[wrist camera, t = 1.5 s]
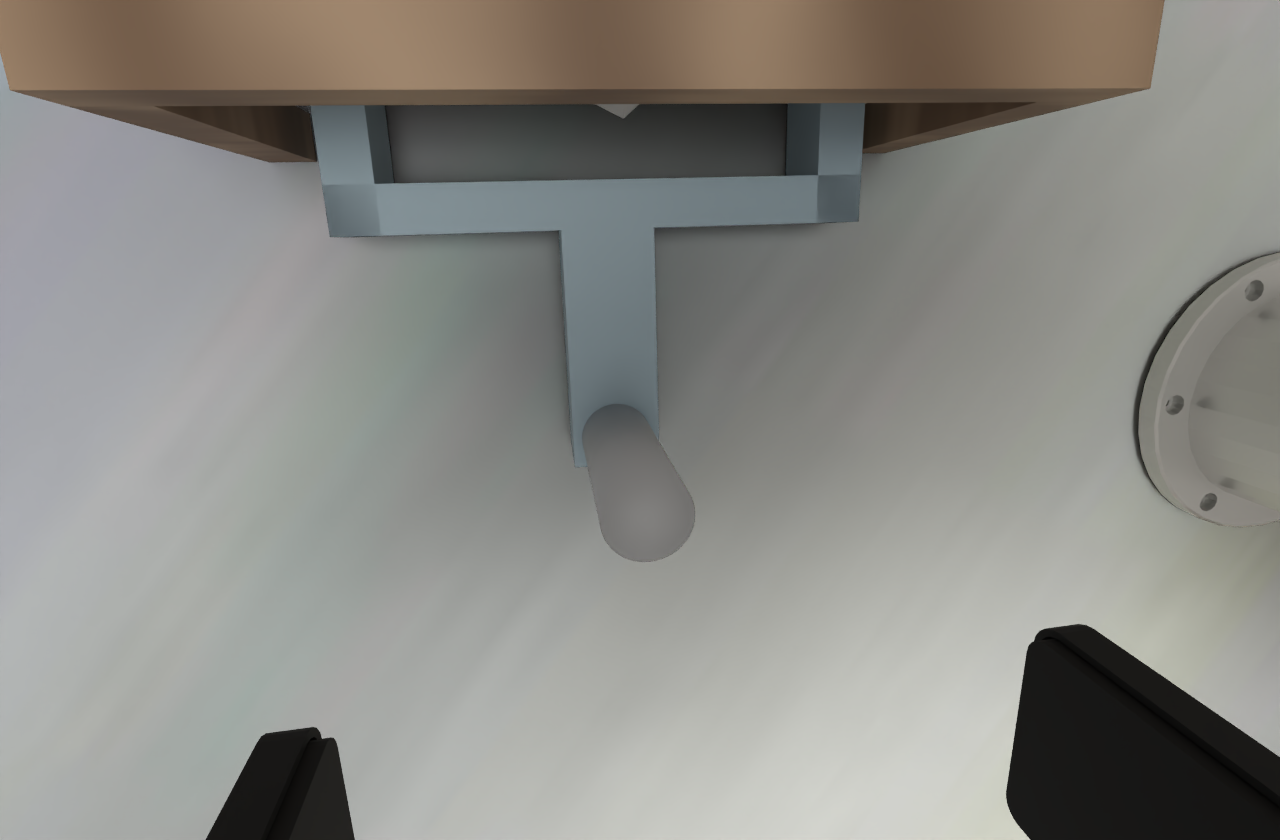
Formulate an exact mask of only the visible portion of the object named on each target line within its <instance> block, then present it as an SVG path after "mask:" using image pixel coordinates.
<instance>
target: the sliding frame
mask: <svg viewBox="0 0 1280 840" xmlns="http://www.w3.org/2000/svg"><path fill="white" fill-rule="evenodd" d="M310 108H311V115H312V121H313V128H314V135H315V141H316V148H317V155H318V161H319V168H320V175H321V181H322V188H323V195H324V201H325V208H326V215H327V221H328V228H329V235H330V237H376V236H410V235H443V234H477V233H510V232H544V231H558V232H559V248H560V265H561V282H562V298H563V315H564V331H565V348H566V364H567V381H568V397H569V414H570V431H571V444H572V450H573V457H574V463H575V467H588V471H589V476H590V480H591V485H592V490H593V494H594V499H595V504H596V508H597V513H598V518H599V523H600V527H601V531H602V534H603V537H604V539H605V541H606V542H607V544H608V545H609V546H610V547H611V549H613V550H614V551H615V552H616V553H617V554H619V555H620V556H622V557H624V558H627V559H629V560H633V561H639V562H650V561H656V560H660V559H663V558H665V557H667V556H669V555H671V554H673V553H674V552H675V551H677V550H678V549H679V548H680V547H681V546H682V545H683V544H684V543H685V542H686V540H687V539H688V537H689V536H690V534H691V532H692V529H693V526H694V521H695V507H694V503H693V500H692V497H691V495H690V494H689V492H688V490H687V488H686V487H685V485H684V483H683V482H682V480H681V478H680V477H679V475H678V473H677V471H676V470H675V468H674V466H673V465H672V463H671V461H670V459H669V458H668V456H667V454H666V453H665V451H664V449H663V448H662V446H661V444H660V442H659V418H658V374H657V331H656V287H655V244H654V228H679V227H712V226H746V225H779V224H813V223H837V222H857V221H858V219H859V202H860V184H861V166H862V149H863V131H864V113H865V103H788V114H787V150H786V176H750V177H699V178H648V179H597V180H546V181H496V182H445V183H394V178H393V170H392V161H391V153H390V145H389V137H388V129H387V121H386V112H385V105H319V106H310Z"/></svg>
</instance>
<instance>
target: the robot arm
mask: <svg viewBox="0 0 1280 840" xmlns="http://www.w3.org/2000/svg"><path fill="white" fill-rule="evenodd" d="M1138 434H1139V441H1140V448H1141V455H1142V458H1143V461H1144V464H1145V466H1146V469H1147V472H1148V474H1149V477H1150V478H1151V480H1152V481H1153V483H1154V484H1155V486H1156V487H1157V489H1158V490H1159V492H1160V493H1161V494H1162V495H1163V496H1164V497H1165V498H1166V499H1168V500H1169V501H1170V502H1171V503H1172V504H1173V505H1174V506H1175V507H1177V508H1179V509H1181V510H1183V511H1185V512H1187V513H1189V514H1191V515H1193V516H1196V517H1198V518H1200V519H1203V520H1206V521H1209V522H1212V523H1215V524H1217V525H1222V526H1232V527H1249V526H1259V525H1264V524H1268V523H1271V522H1275V521H1278V520H1280V253H1276V254H1272V255H1268V256H1264V257H1260V258H1257V259H1255V260H1253V261H1251V262H1249V263H1247V264H1245V265H1243V266H1240V267H1238V268H1236V269H1234V270H1233V271H1231V272H1230V273H1228V274H1227V275H1225V276H1224V277H1222V278H1221V279H1220V280H1218V281H1217V282H1215V283H1214V284H1212V285H1211V286H1210V287H1209V288H1208V289H1207V290H1206V291H1204V292H1203V293H1202V294H1201V295H1200V296H1199V297H1198V298H1197V299H1196V300H1195V301H1194V302H1193V303H1192V304H1191V305H1190V306H1189V307H1188V308H1187V309H1186V311H1185V312H1184V313H1183V314H1182V316H1181V317H1180V318H1179V319H1178V321H1177V322H1176V323H1175V325H1174V326H1173V327H1172V328H1171V330H1170V331H1169V333H1168V335H1167V336H1166V338H1165V340H1164V342H1163V343H1162V345H1161V347H1160V349H1159V350H1158V352H1157V354H1156V356H1155V358H1154V361H1153V363H1152V366H1151V368H1150V371H1149V373H1148V376H1147V378H1146V381H1145V385H1144V390H1143V394H1142V399H1141V403H1140V409H1139V430H1138ZM1006 798H1007V804H1008V807H1009V810H1010V812H1011V814H1012V816H1013V818H1014V820H1015V821H1016V823H1017V824H1018V825H1019V827H1020V828H1021V829H1022V830H1023V831H1024V833H1025V834H1026V835H1027V836H1028V837H1029V838H1030V840H1280V757H1279V756H1277V755H1276V754H1274V753H1273V752H1272V751H1270V750H1269V749H1267V748H1266V747H1264V746H1263V745H1261V744H1260V743H1258V742H1257V741H1256V740H1254V739H1253V738H1251V737H1250V736H1248V735H1247V734H1245V733H1244V732H1242V731H1241V730H1240V729H1238V728H1237V727H1235V726H1234V725H1232V724H1231V723H1229V722H1228V721H1227V720H1225V719H1224V718H1222V717H1221V716H1219V715H1218V714H1216V713H1215V712H1213V711H1212V710H1211V709H1209V708H1208V707H1206V706H1205V705H1203V704H1202V703H1200V702H1199V701H1197V700H1196V699H1195V698H1193V697H1192V696H1190V695H1189V694H1187V693H1186V692H1184V691H1183V690H1182V689H1180V688H1179V687H1177V686H1176V685H1174V684H1173V683H1171V682H1170V681H1168V680H1167V679H1166V678H1164V677H1163V676H1161V675H1160V674H1158V673H1157V672H1155V671H1154V670H1152V669H1151V668H1150V667H1148V666H1147V665H1145V664H1144V663H1142V662H1141V661H1139V660H1138V659H1137V658H1135V657H1134V656H1132V655H1131V654H1129V653H1128V652H1126V651H1125V650H1123V649H1122V648H1121V647H1119V646H1118V645H1116V644H1115V643H1113V642H1112V641H1110V640H1109V639H1107V638H1106V637H1105V636H1103V635H1102V634H1100V633H1099V632H1097V631H1096V630H1094V629H1093V628H1091V627H1089V626H1087V625H1081V624H1077V625H1069V626H1062V627H1054V628H1047V629H1043V630H1041V631H1039V633H1038V634H1037V635H1036V637H1035V640H1034V642H1032V643H1031V644H1030V645H1029V646H1028V650H1027V655H1026V661H1025V668H1024V675H1023V682H1022V689H1021V695H1020V702H1019V709H1018V716H1017V723H1016V729H1015V736H1014V743H1013V750H1012V756H1011V763H1010V770H1009V777H1008V784H1007V790H1006ZM206 840H355V839H354V833H353V828H352V822H351V817H350V812H349V806H348V801H347V795H346V790H345V784H344V779H343V774H342V768H341V763H340V757H339V752H338V747H337V743H336V741H335V739H334V738H325V739H322V738H321V734H320V732H319V730H318V729H317V728H315V727H311V728H303V729H296V730H288V731H281V732H273V733H266V734H265V735H263V736H261V738H260V739H259V741H258V742H257V744H256V746H255V748H254V749H253V751H252V753H251V755H250V757H249V759H248V761H247V763H246V765H245V766H244V768H243V770H242V772H241V774H240V776H239V778H238V780H237V782H236V783H235V785H234V787H233V789H232V791H231V793H230V795H229V797H228V799H227V800H226V802H225V804H224V806H223V808H222V810H221V812H220V814H219V816H218V817H217V819H216V821H215V823H214V825H213V827H212V829H211V831H210V833H209V834H208V836H207V838H206Z"/></svg>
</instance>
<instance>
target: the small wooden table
mask: <svg viewBox="0 0 1280 840" xmlns="http://www.w3.org/2000/svg"><path fill="white" fill-rule="evenodd" d="M1163 6H1164V0H0V53H1V57H2V61H3V65H4V69H5V73H6V76H7V80H8V84H9V88H10V90H11V91H15V92H18V93H22V94H25V95H29V96H33V97H36V98H40V99H43V100H47V101H51V102H54V103H58V104H61V105H65V106H69V107H72V108H76V109H79V110H83V111H87V112H90V113H94V114H97V115H101V116H105V117H108V118H112V119H115V120H119V121H123V122H126V123H130V124H133V125H137V126H141V127H144V128H148V129H151V130H155V131H159V132H162V133H166V134H169V135H173V136H177V137H180V138H184V139H187V140H191V141H195V142H198V143H202V144H205V145H209V146H213V147H216V148H220V149H223V150H227V151H231V152H234V153H238V154H241V155H245V156H249V157H252V158H256V159H259V160H263V161H267V162H317V161H316V154H315V147H314V141H313V134H312V128H311V121H310V114H309V113H307V112H305V111H304V110H302V109H300V108H298V107H296V106H319V105H534V104H748V103H866V104H865V113H864V131H863V149H862V153H887V152H891V151H895V150H899V149H903V148H907V147H911V146H915V145H919V144H924V143H928V142H932V141H936V140H940V139H944V138H948V137H952V136H956V135H961V134H965V133H969V132H973V131H977V130H981V129H985V128H989V127H993V126H998V125H1002V124H1006V123H1010V122H1014V121H1018V120H1022V119H1026V118H1030V117H1034V116H1039V115H1043V114H1047V113H1051V112H1055V111H1059V110H1063V109H1067V108H1071V107H1076V106H1080V105H1084V104H1088V103H1092V102H1096V101H1100V100H1104V99H1108V98H1113V97H1117V96H1121V95H1125V94H1129V93H1133V92H1137V91H1141V90H1145V89H1150V87H1151V81H1152V74H1153V68H1154V62H1155V56H1156V50H1157V43H1158V37H1159V31H1160V25H1161V19H1162V13H1163Z"/></svg>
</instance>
